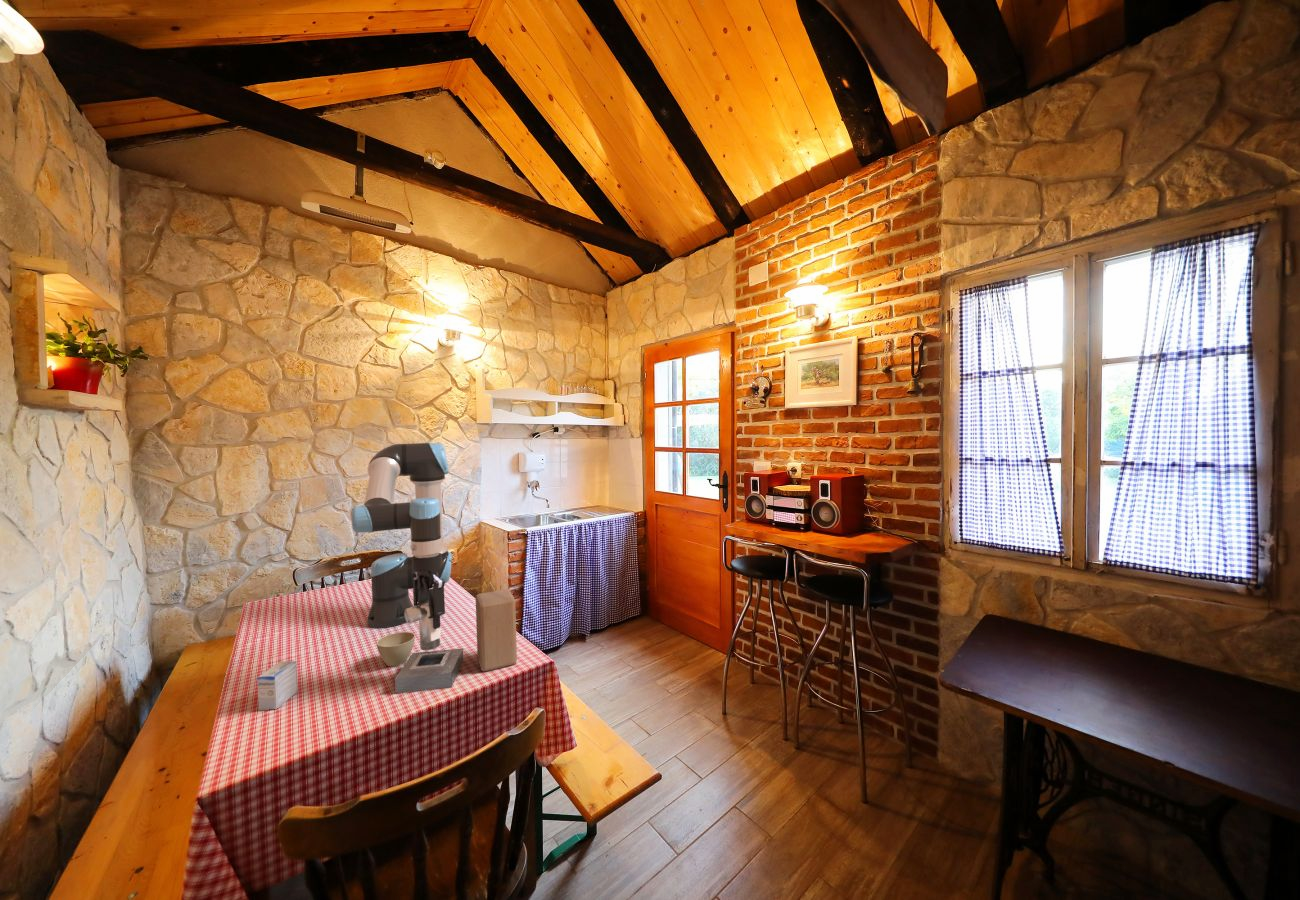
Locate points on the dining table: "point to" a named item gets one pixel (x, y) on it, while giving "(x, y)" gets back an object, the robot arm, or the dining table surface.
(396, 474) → the robot arm
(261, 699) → the medicine box
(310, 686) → the dining table surface
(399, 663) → the flower pot
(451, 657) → the duct socket
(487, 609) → the block
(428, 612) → the elbow
